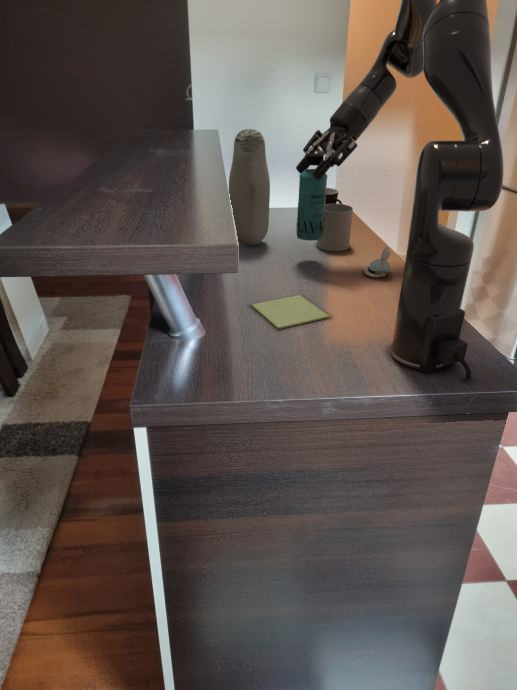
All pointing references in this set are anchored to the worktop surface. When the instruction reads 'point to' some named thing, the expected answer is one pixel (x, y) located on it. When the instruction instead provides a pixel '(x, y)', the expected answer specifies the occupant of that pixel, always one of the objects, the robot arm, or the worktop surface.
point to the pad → (289, 311)
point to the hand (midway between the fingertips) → (307, 174)
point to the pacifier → (379, 265)
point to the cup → (336, 227)
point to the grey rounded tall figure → (250, 187)
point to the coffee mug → (332, 196)
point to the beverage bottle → (311, 202)
